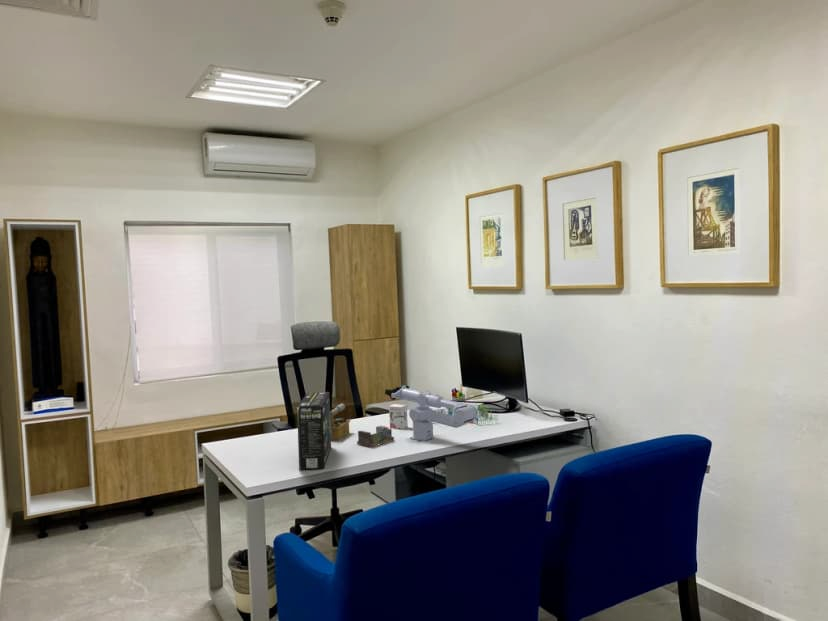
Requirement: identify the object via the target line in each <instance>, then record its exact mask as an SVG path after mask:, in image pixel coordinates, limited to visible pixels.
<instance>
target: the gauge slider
mask: <svg viewBox="0 0 828 621" xmlns="http://www.w3.org/2000/svg"><path fill="white" fill-rule="evenodd" d="M389 429H390V427H388V426H384V425H378V426H375V433H378V432H382V431H385V430H388V431H389Z"/></svg>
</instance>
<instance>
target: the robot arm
mask: <svg viewBox="0 0 828 621" xmlns="http://www.w3.org/2000/svg"><path fill="white" fill-rule="evenodd" d="M384 394H385V395H387V396H388V397H389V398H390V399H391V400H392V401H395V400H396V399H399V400H403V401H404V400H405V401H408V402H412V403H416V404H418V405H419V406H416V407H411V408H410V409H409V411H408V415H409V418H410V419H411V421H412V431H413V432H412V434H413V435H412V436H410V437H409V439H411V440H417V441H421V442H425V440H426V441H428V439H429V440H431V438H432V439H434V438H435V436H434V426H433V422H434V423H435V422H436V423H435V424H440V425H445V426H447V427H452V428H456V429H458V428H461V427H463V426H465V425H466V424H469V422H471V421H473V422H474V421H475V418H476V417H477V416H478V415H479V410H478V411H477V406H474V405H473V404H470V403H466V402H459V401H454V400H448V399H444V397H443V396H441V395H440V394H438V393H437V394H432V393H431V392H430V391H425V392H423V391H420V390H415V389H413V388H410V386H409V385H406V384H405V385H402V386H397V387H395V388H392V389H389V388H388V389H387V388H386V389H385V390H384ZM431 407H432V408H431ZM433 408H436V409H442V408H444V409H447V410H449V409H451V410H453V415H449V414H448V413H446V414H445V413H444V412H443V413H442V412H438V410H437V411H434V410H435V409H433ZM428 420H429V421H432V423H431V422H429V421H428Z"/></svg>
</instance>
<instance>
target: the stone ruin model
mask: <svg viewBox="0 0 828 621" xmlns="http://www.w3.org/2000/svg"><path fill="white" fill-rule="evenodd" d="M392 432H393V431H392V428H389V431H388V430H385V431H382V432H378V433H376V432H375V433H371V432H369V431H366V430H365V431H364V430H358V431H357V438H358V440H357V441H356V445H357V444H359V445H358V446H362V445H363V447H366V446H368V448H373V447H375V445H376V446H379V445H378V444H380V445H382V444H381V443H383V444H386V443H389V442H391V440H392V441H395V437H394V436H393V435H392ZM388 441H389V442H388ZM385 442H386V443H385ZM372 446H373V447H372Z"/></svg>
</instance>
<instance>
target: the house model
mask: <svg viewBox="0 0 828 621" xmlns="http://www.w3.org/2000/svg"><path fill="white" fill-rule="evenodd" d="M473 406H475V407H476V409H477V411H478V415H477V417H476V418H475V419H474V420H473V421H471V424H474V421H476V426H477V425H478V426H479V423H480V425H481V426H482V425H485V419H486V420H488V422H492V420H495V421H496V424H499V422H498V420H499V418H498V416H499V415H497V414H494V415H493V414H492V413H493V412H492V411H493V410H491V409H488V408H486V407H485V406H483V405H481V404H476V405H473ZM433 410H434V411H438V412H442V413H445V414H449V415H453V416H454V414H453V410H451V409H447V410H446V408H438V409H433ZM489 412H490V415H489ZM428 421H429V420H428ZM429 422H431V423H432V425H433V424H434V423H435V424H437V423H436V422H432V421H429ZM469 423H470V422H469ZM469 423H468V424H469ZM482 423H483V424H482Z"/></svg>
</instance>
